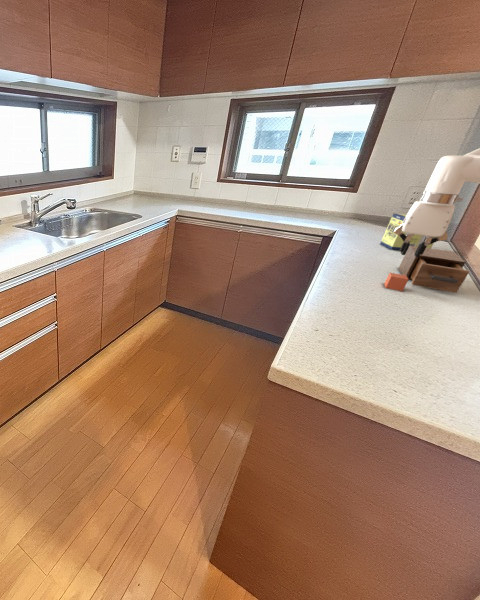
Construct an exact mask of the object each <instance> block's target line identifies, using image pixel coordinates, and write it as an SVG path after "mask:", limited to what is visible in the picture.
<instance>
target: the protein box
mask: <svg viewBox="0 0 480 600" xmlns="http://www.w3.org/2000/svg"><path fill="white" fill-rule="evenodd" d="M406 215H407V213H404V214H403V213H392V216H391V218H390V219H389V223H388V224H387V227H386V230H385V232H384V234H383V236H382V238H381V240H380V245H381V246H383V247H386V248H388V249H389V250H391V251H400V248H401V246H402V244H403V242H404V241H403V240H402V238H401V237H400V236H398V235H397V234H395V233H394V232H393V231H394V230H395V229H396V228H398V227H399V226H400V225H402V223H403V221H404V219H405V217H406ZM401 232H402V233H404V232H403V231H401ZM404 234H405V235H406V234H407V233H404ZM424 238H425V236H423V235H415V234H414V235H413V236H412V238H411V240H410V246H416V247H418V246H419V244H421V243H422V242H423V240H424ZM432 238H433V237H432ZM433 245H434V243H432V244H430V245H429V246H427V247H426V248H430V249H432V247H433Z"/></svg>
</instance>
